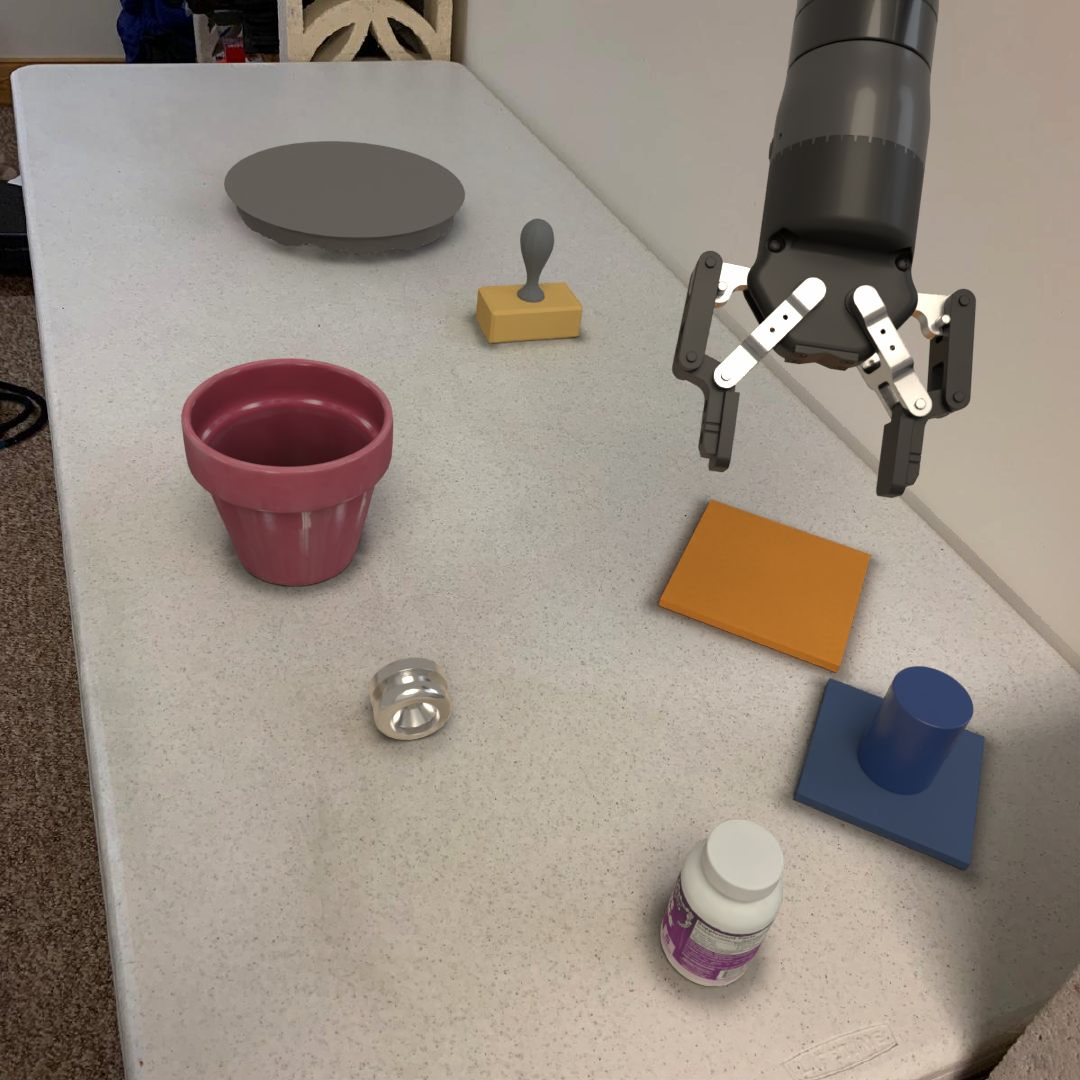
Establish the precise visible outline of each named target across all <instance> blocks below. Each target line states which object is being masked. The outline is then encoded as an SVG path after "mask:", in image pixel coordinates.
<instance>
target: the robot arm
mask: <svg viewBox="0 0 1080 1080" xmlns="http://www.w3.org/2000/svg"><path fill="white" fill-rule="evenodd" d="M939 10H940V0H796V9H795V13H794V20H793V25H792V32H791V39H790V46H789V56H788V62H787V70H786V77H785V82H784V88H783V90H782V95H781V97H780V98H781V99H780V101H779V105H778V108H777V111H776V112H777V113H776V115H775V122H774V128H773V134H772V135H773V136H772V137H771V138H772V139H771V142H770V144H769V147H768V148H769V150H768V161H769V165H768V166H769V167H768V173H767V179H766V180H767V181H766V188H765V189H766V190H765V194H764V195H765V196H764V202H763V210H762V216H761V217H762V218H761V226H760V232H759V240H758V246H757V254H756V258H755V261H754V263H753V265H752V266H751V267H749V266H743V265H739V264H733V263H730V262H726V261H725V262H724V261H723V258H722V256H721V255H720V253H718V252H717V251H714V250H706V251H704V252H702V253H701V254H700V256H699V258H698V260H697V261H696V264H695V265H694V267H693V270H692V272H691V274H690V278H689V282H688V287H687V291H686V296H685V301H684V306H683V312H682V316H681V320H680V326H679V330H678V331H679V332H678V335H677V340H676V344H675V345H676V346H675V351H674V355H673V360H672V365H671V372H672V375H673V376H674V377H675V378H676V379H677V380H680V381H687V382H689V383H691V384H692V385H694V386H696V387H698V388H699V389H700V390H701V392H702V394H703V398H704V399H703V400H704V401H703V409H702V415H701V423H700V431H699V438H698V444H697V445H698V446H697V448H698V451H699V452H698V453H699V455H700V458H701V459H707V460H708V472H709V471H710V472H716V473H724V472H726V471H727V470H729V468H730V466H731V461H732V455H733V454H732V453H733V446H734V439H735V433H736V426H737V425H736V424H737V418H738V409H739V402H740V397H741V393H740V392H738V391H736V385H737V384H738V383H740V381H741V380H743V378H745V376H746V375H747V374H749V373H750V372H751V371H752V369H754V368H755V366H757V365H758V364H759V363H760V362H761V361H762V360H763V359H764V358H765V357H766V356H767V355H768V354H769V353H770V352H771V351H772V350H773V352H775V353H776V355H778V356H779V357H780V358H782V359H784V360H783V363H787V364H793V365H805V364H806V365H807V364H814V363H815V364H817V365H820V366H822V367H825V368H826V369H829V370H836V371H842V372H846V371H847V370H848V369H851V368H852V369H853V368H856V369H857V371H858V373H859V374H860V376H861V378H862V380H863V382H864V383H865V384H866V386H867V387H868V388H869V390H872V391H874V393H875V395H876V396H877V398H878V399H879V401H880V402H881V404H882V406H883V408H884V410H885V411H886V413H887V415H888V416H889V419H890V421H889V422H887V423H885V424H884V425H883V429H882V439H881V448H880V456H879V463H878V472H877V478H876V479H877V480H876V485H875V487H876V488H875V493H876V496H877V497H882V498H887V499H894V498H898V497H902V496H903V495H904V493H905V491H906V488H907V487H911V486H914V485H915V483H916V482H917V480H918V478H919V476H920V470H921V460H922V454H923V447H924V446H923V445H924V438H925V437H924V436H925V430H926V429H925V428H926V425H927V424H928V423H927V422H928V421H929V420H933V419H938V420H939V419H943V418H946V417H947V416H949V415H950V414H953V413H955V412H958V411H960V410H964V409H965V408H967V406H968V405H969V404H970V402H971V399H972V398H971V397H972V396H971V395H972V379H973V364H974V363H973V361H974V342H975V325H976V312H977V311H976V310H977V297H976V295H975V293H973V291H972V290H969V289H968V288H959V289H957V290H956V291H954V292H953V293H950V294H941V293H930V292H929V293H928V292H918V290H917V288H916V285H915V282H914V281H913V275H912V270H913V269H912V267H913V262H914V257H915V249H916V242H917V234H918V228H919V227H918V226H919V218H920V212H921V211H920V209H921V201H922V194H923V185H924V177H925V171H926V162H927V153H928V145H929V139H930V138H929V137H930V130H931V111H932V110H931V79H932V76H931V75H932V68H933V61H934V60H933V59H934V53H935V45H936V37H937V36H936V35H937V28H938V21H939ZM736 292H742V295H743V297H744V299H745V301H746V304H747V305H748V307H749V309H750V311H751V313H752V314H753V316H754V318H755V320H756V321H757V323H758V326H757V327H756V328H755V329H754V330H753V331H752V332H751V333H750V334H749V335H748V336H747V337H746V338H745V339H744V340H743V341H742V342H741V343H740V345H738V346H737V347H736V348H735V349H734V350H733V351H732V352H731V353H730V354H729V355H728V356H727V357H726V358H725V359H724V360H723V361H722V362H721V361H719V360H717V359H715V358H713V357H711V356H710V355H708V354H706V350H707V345H708V340H709V335H710V330H711V324H712V321H713V316H714V310H715V309H720V308H723V307H724V306H725V305H726V304H727V302H728V301H729V300H730V298H731V297H732V294H733V293H736ZM911 317H913V318H915V319H916V320H917V322H918V323H919V327H920V332H921V335H922V336H923V338H925V339H927V340H929V347H928V348H929V350H928V365H927V380H926V381H927V383H926V388H925V386H924V385H923V383H922V381H921V379H920V377H919V376H918V374H917V372H916V370H915V361H914V358H913V356H912V354H911V352H910V351H909V349H908V347H907V345H906V344H905V342H904V340H903V339H902V337H901V335H900V333H899V332H898V330H900V328H901V327H902V326H903V325H904V324H905V323H906V322H907V321H908V320H909V319H910V318H911Z"/></svg>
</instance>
